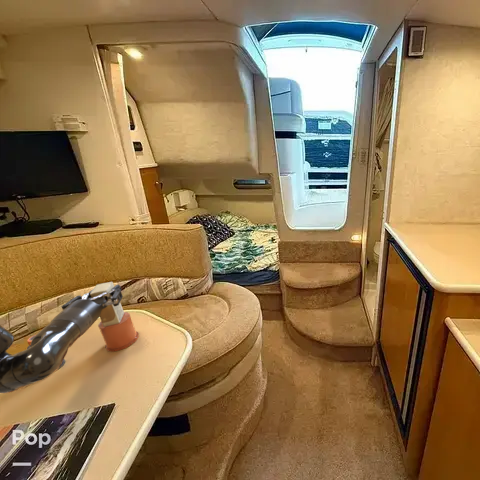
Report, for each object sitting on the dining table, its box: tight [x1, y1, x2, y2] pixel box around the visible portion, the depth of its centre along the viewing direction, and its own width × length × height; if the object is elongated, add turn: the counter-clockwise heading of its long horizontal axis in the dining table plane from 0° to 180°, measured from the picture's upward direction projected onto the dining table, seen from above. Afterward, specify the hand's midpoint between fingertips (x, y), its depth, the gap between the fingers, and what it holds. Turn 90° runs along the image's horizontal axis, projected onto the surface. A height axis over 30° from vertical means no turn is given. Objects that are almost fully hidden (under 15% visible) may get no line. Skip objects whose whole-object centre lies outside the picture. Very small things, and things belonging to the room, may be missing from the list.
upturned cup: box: [97, 311, 140, 353], centre depth 88 cm, size 9×9×9 cm
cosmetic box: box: [90, 281, 125, 327], centre depth 84 cm, size 6×4×12 cm
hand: (108, 288), depth 85 cm, fingers open, 5 cm apart
